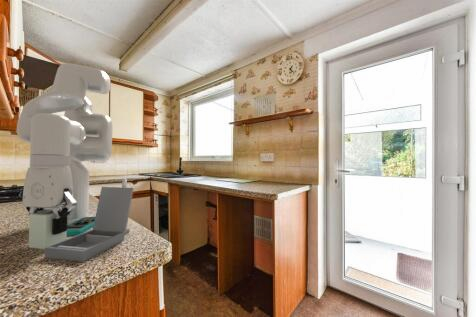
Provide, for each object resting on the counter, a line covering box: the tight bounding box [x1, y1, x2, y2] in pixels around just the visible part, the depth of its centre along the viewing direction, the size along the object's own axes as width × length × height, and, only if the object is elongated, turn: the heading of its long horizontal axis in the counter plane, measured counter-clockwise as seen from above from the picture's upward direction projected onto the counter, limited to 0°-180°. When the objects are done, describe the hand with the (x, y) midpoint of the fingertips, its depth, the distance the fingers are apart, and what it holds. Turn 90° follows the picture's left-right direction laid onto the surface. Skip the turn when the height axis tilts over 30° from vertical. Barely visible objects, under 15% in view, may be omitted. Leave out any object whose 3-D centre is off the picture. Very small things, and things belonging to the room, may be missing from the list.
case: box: [44, 228, 125, 263], centre depth 49 cm, size 10×12×3 cm
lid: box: [92, 186, 134, 232], centre depth 57 cm, size 10×12×1 cm
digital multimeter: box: [67, 216, 95, 237], centre depth 64 cm, size 7×15×3 cm, turn 10°
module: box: [28, 208, 68, 250], centre depth 51 cm, size 5×5×10 cm
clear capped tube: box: [121, 178, 131, 236], centre depth 59 cm, size 2×2×17 cm
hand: (48, 231), depth 51 cm, fingers open, 6 cm apart
